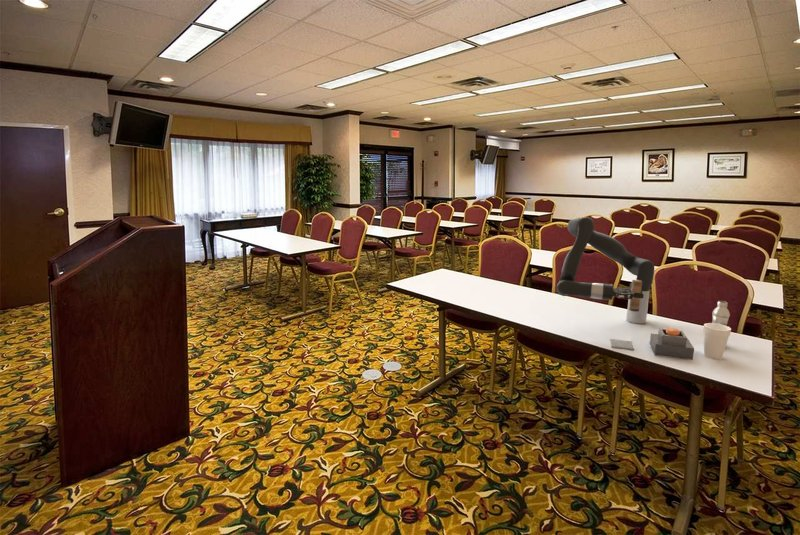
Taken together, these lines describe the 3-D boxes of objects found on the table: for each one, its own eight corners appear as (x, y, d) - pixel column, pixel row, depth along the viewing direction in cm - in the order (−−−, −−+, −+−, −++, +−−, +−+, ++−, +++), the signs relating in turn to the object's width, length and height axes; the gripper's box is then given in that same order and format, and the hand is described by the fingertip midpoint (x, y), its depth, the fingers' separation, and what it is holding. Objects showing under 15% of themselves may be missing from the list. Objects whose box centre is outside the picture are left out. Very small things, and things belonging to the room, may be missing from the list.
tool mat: (610, 339, 208) (610, 338, 207) (631, 342, 204) (631, 341, 204) (611, 347, 198) (611, 346, 198) (634, 350, 195) (634, 348, 195)
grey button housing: (649, 343, 203) (651, 326, 201) (685, 347, 198) (687, 329, 196) (654, 355, 190) (656, 336, 188) (692, 359, 185) (695, 340, 183)
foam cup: (701, 349, 195) (705, 321, 193) (727, 355, 190) (731, 326, 187) (698, 356, 188) (702, 327, 185) (725, 362, 182) (730, 332, 180)
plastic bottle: (721, 342, 204) (727, 300, 200) (727, 347, 198) (734, 304, 194) (705, 341, 206) (711, 299, 202) (711, 346, 199) (717, 303, 195)
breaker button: (664, 333, 195) (665, 327, 195) (677, 334, 194) (678, 328, 193) (666, 336, 191) (667, 331, 190) (680, 338, 189) (680, 332, 188)
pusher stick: (628, 308, 208) (631, 279, 205) (638, 309, 207) (641, 280, 204) (629, 310, 204) (632, 281, 202) (639, 311, 203) (642, 282, 200)
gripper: (603, 287, 202) (645, 290, 196) (601, 280, 215) (641, 283, 209) (601, 302, 203) (643, 306, 197) (600, 295, 216) (640, 298, 210)
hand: (642, 294), depth 203 cm, fingers closed on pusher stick, 4 cm apart
